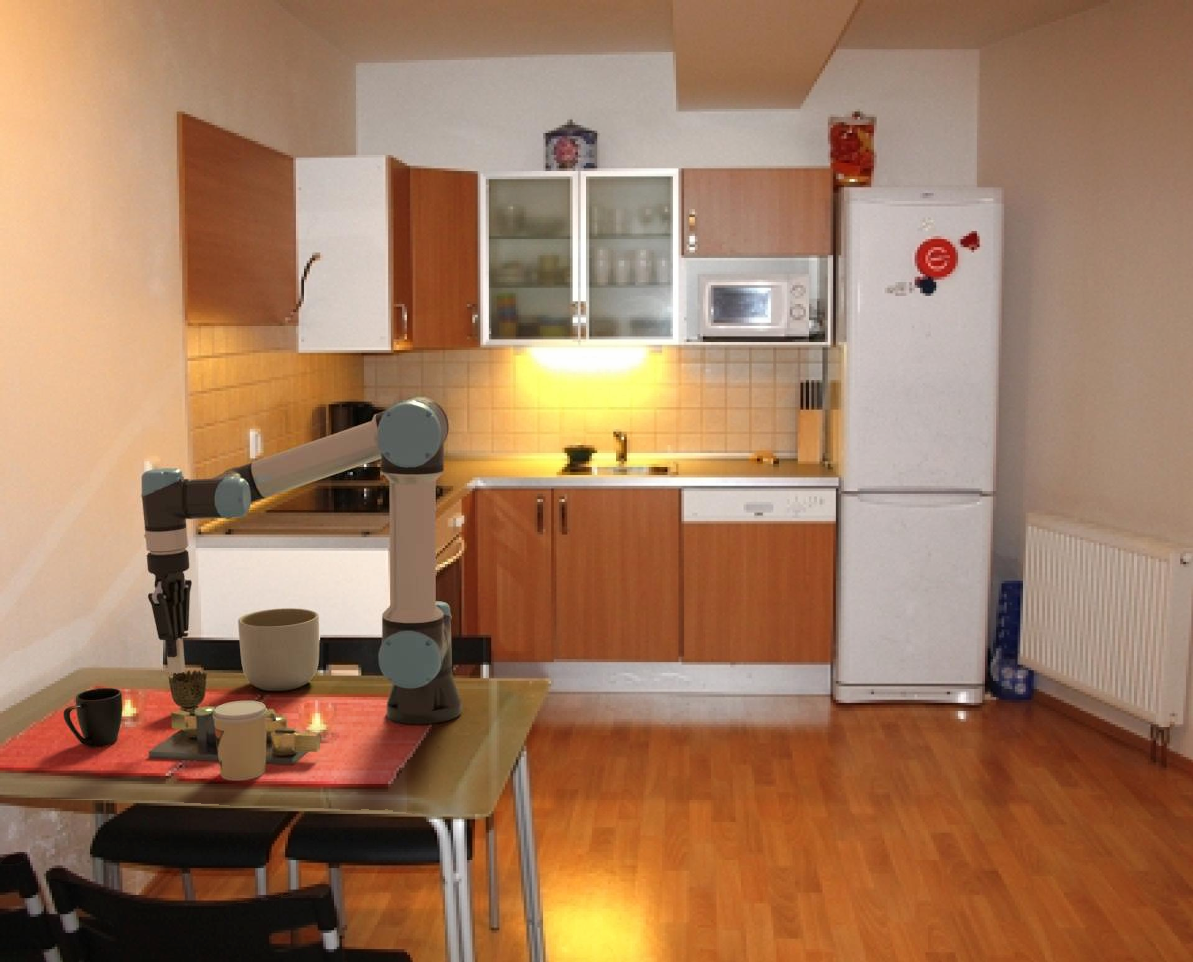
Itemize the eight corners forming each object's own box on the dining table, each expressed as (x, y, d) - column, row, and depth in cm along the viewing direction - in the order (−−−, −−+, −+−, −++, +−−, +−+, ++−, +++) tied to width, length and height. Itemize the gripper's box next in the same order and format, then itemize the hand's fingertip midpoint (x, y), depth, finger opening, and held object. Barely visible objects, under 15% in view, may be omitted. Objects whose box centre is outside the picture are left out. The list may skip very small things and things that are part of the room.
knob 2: (289, 738, 248) (288, 718, 247) (262, 741, 246) (261, 721, 245) (281, 724, 256) (281, 704, 255) (255, 727, 254) (254, 708, 253)
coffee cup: (221, 764, 238) (218, 700, 237) (274, 762, 239) (271, 699, 237) (210, 783, 229) (207, 716, 227) (265, 781, 230) (261, 715, 228)
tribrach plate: (321, 739, 251) (319, 698, 250) (292, 764, 238) (290, 722, 237) (184, 732, 256) (182, 693, 255) (149, 757, 242) (146, 715, 241)
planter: (299, 669, 299) (297, 604, 297) (335, 686, 286) (332, 618, 284) (228, 683, 288) (225, 616, 286) (261, 701, 275) (258, 631, 273)
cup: (197, 719, 264) (195, 680, 263) (163, 717, 266) (161, 679, 265) (215, 708, 271) (213, 670, 270) (182, 706, 273) (180, 668, 272)
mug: (52, 751, 246) (49, 702, 245) (104, 732, 257) (101, 685, 255) (82, 758, 242) (78, 708, 241) (133, 739, 253) (130, 691, 251)
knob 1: (218, 731, 252) (217, 711, 251) (198, 739, 248) (197, 719, 247) (185, 724, 256) (184, 705, 256) (165, 731, 252) (164, 712, 251)
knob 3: (267, 754, 239) (266, 733, 238) (278, 745, 244) (277, 725, 243) (313, 756, 237) (312, 736, 237) (323, 747, 242) (322, 727, 242)
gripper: (165, 544, 255) (174, 661, 258) (131, 557, 242) (141, 681, 245) (201, 544, 254) (210, 662, 257) (169, 557, 241) (178, 682, 244)
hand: (176, 671), depth 251 cm, fingers closed
